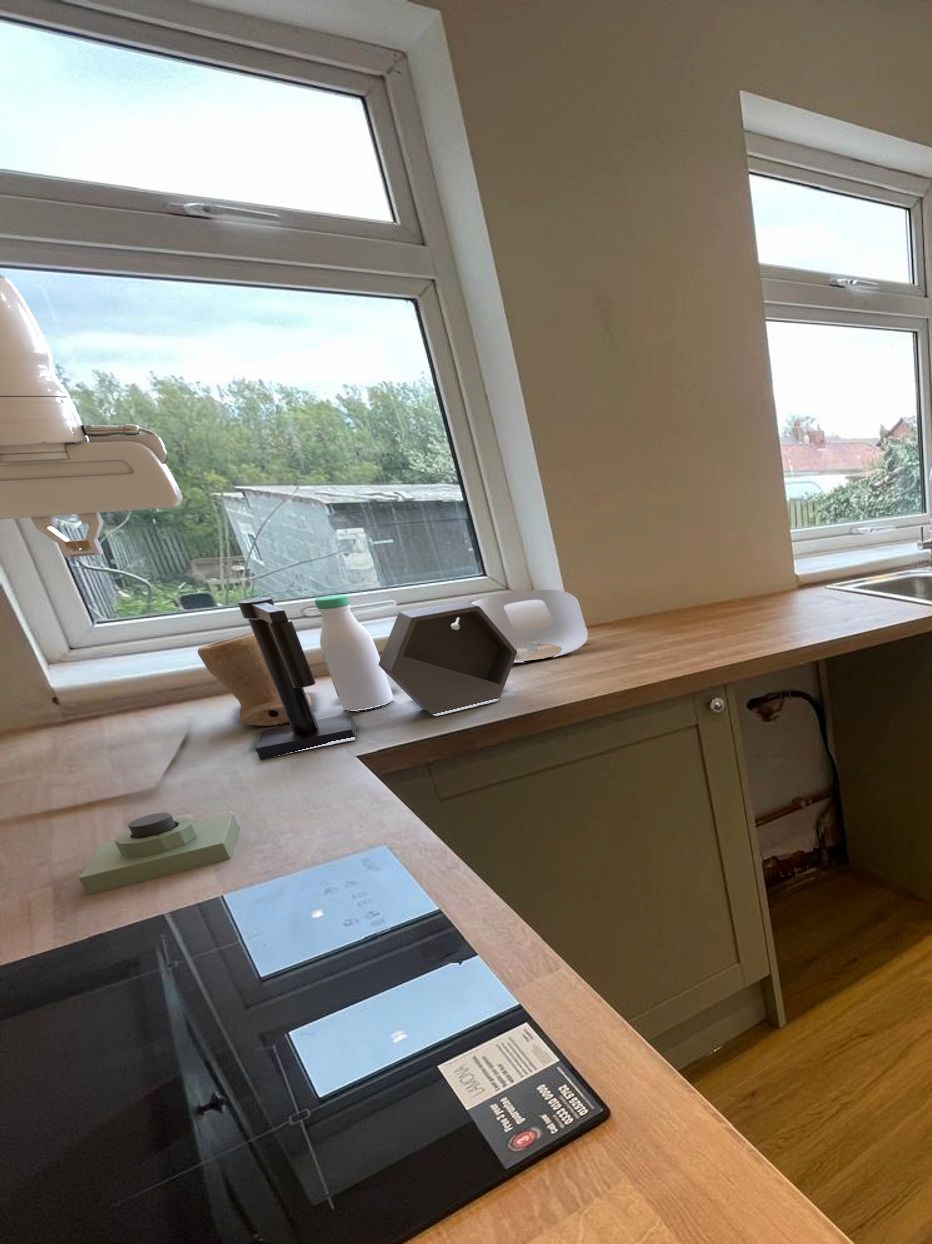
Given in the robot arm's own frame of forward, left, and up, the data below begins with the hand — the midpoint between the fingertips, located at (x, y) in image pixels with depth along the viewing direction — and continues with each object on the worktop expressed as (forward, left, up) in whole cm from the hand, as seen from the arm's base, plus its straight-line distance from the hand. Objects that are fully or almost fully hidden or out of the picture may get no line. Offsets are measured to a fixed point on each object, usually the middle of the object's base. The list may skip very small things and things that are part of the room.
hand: (85, 555), depth 94 cm
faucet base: (+10, +26, -34) cm, 44 cm away
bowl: (+48, +62, -34) cm, 86 cm away
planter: (+32, +30, -34) cm, 56 cm away
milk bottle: (+18, +42, -34) cm, 57 cm away
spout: (+11, +21, -22) cm, 32 cm away
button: (-2, -13, -30) cm, 33 cm away
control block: (-2, -13, -34) cm, 36 cm away
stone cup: (+4, +46, -34) cm, 58 cm away
